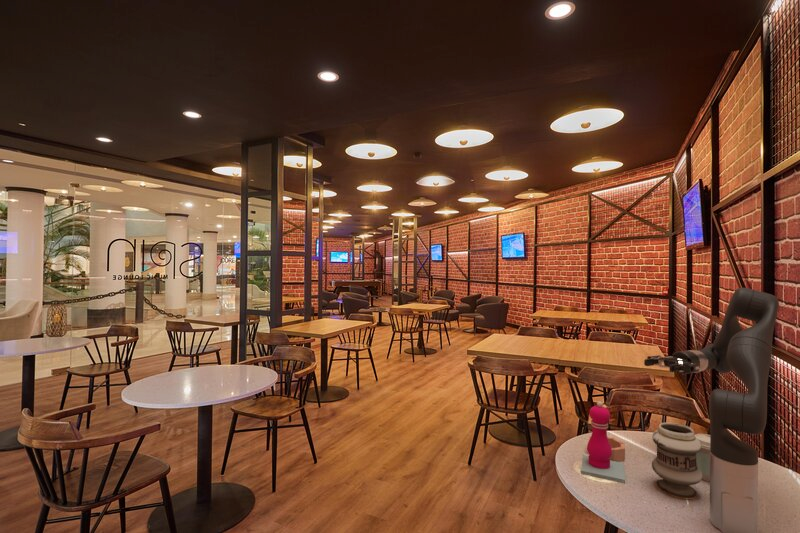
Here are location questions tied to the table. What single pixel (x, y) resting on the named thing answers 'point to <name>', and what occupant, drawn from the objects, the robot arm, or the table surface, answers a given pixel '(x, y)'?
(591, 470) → the board
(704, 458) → the coffee cup
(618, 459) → the holder ring
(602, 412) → the pepper mill
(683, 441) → the apothecary jar
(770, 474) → the table surface
